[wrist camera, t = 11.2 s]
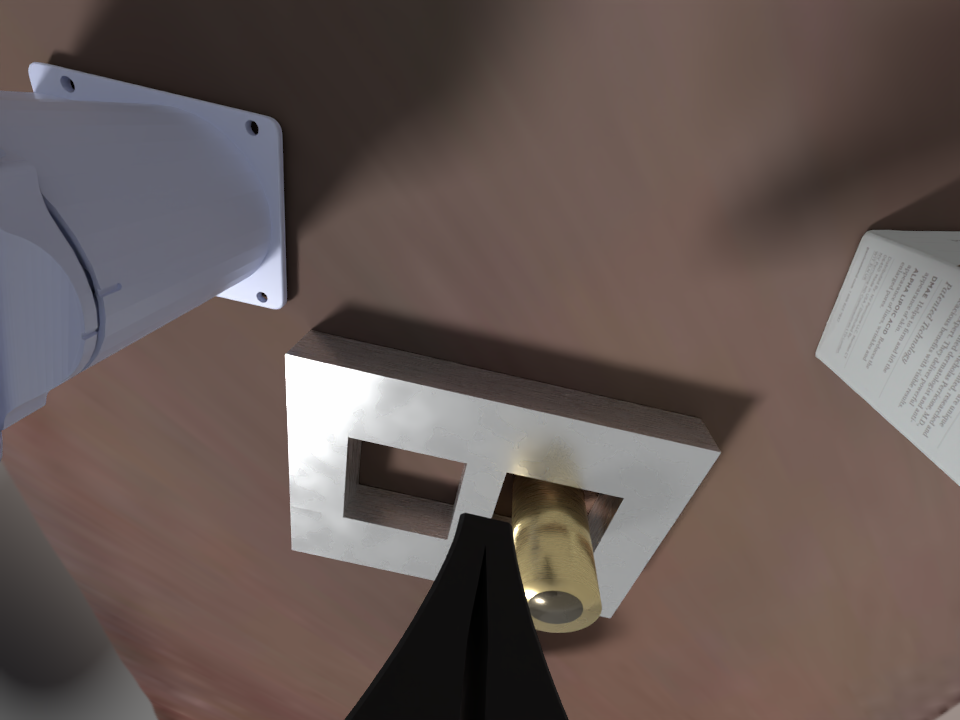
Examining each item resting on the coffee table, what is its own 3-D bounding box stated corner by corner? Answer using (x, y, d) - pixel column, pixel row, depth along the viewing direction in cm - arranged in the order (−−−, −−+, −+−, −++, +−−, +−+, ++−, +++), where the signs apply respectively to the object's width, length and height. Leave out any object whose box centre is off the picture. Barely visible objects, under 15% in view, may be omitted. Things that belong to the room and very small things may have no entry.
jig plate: (310, 516, 28) (291, 549, 26) (310, 329, 21) (285, 354, 19) (603, 580, 28) (610, 618, 26) (701, 418, 21) (721, 452, 19)
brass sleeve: (505, 502, 25) (499, 622, 19) (523, 454, 23) (523, 571, 17) (569, 517, 26) (583, 641, 19) (592, 470, 24) (616, 592, 17)
